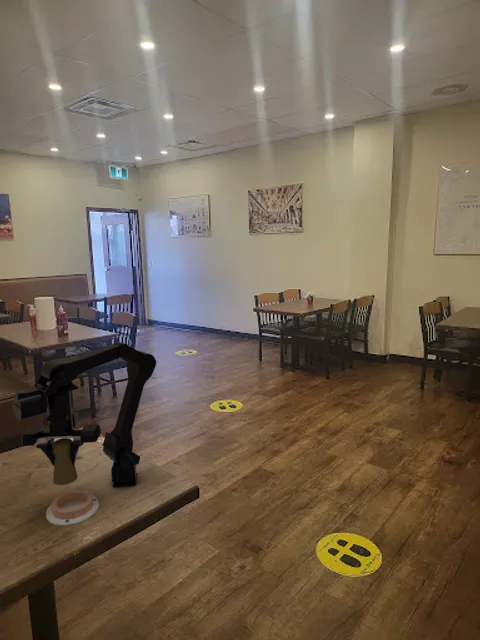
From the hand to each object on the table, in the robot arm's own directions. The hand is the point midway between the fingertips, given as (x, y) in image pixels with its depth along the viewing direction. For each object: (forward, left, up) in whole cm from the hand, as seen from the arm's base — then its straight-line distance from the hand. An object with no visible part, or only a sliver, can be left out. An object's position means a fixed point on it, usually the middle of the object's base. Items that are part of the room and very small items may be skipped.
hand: (64, 464), depth 115 cm
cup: (+7, -27, -12) cm, 30 cm away
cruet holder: (-2, +2, -12) cm, 12 cm away
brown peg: (0, 0, -4) cm, 4 cm away
